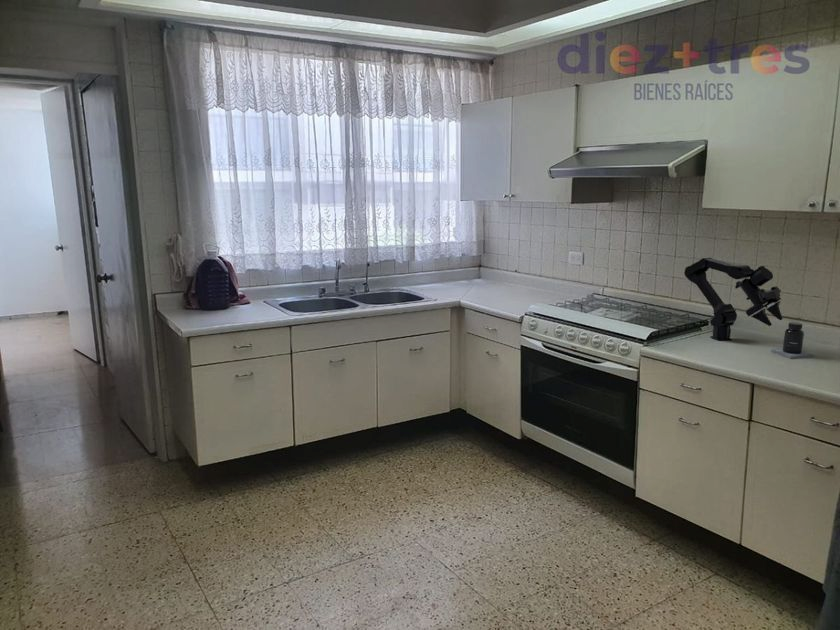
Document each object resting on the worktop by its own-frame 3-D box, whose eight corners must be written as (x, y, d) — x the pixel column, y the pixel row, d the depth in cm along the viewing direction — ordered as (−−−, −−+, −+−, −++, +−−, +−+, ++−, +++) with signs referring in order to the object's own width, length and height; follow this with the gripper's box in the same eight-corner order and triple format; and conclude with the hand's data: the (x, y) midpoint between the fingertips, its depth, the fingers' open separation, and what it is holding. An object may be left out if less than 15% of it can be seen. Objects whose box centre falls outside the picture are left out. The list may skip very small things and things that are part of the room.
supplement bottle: (789, 354, 250) (792, 325, 247) (778, 350, 257) (781, 321, 254) (805, 353, 250) (809, 324, 248) (794, 349, 257) (798, 321, 254)
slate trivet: (790, 358, 247) (790, 356, 247) (770, 351, 258) (770, 349, 258) (814, 356, 249) (815, 354, 249) (794, 349, 260) (794, 347, 259)
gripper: (757, 286, 252) (781, 319, 247) (779, 276, 262) (803, 307, 257) (735, 300, 260) (758, 332, 256) (758, 290, 270) (780, 320, 266)
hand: (776, 322), depth 258 cm, fingers open, 9 cm apart
